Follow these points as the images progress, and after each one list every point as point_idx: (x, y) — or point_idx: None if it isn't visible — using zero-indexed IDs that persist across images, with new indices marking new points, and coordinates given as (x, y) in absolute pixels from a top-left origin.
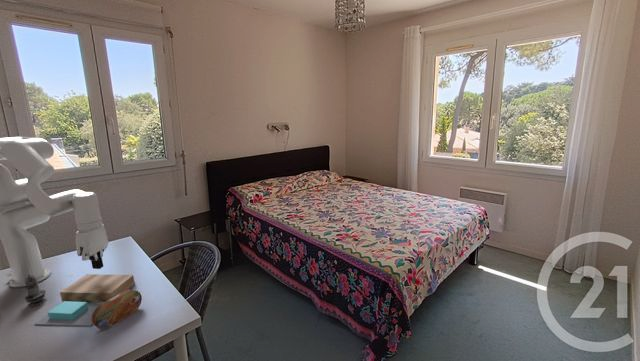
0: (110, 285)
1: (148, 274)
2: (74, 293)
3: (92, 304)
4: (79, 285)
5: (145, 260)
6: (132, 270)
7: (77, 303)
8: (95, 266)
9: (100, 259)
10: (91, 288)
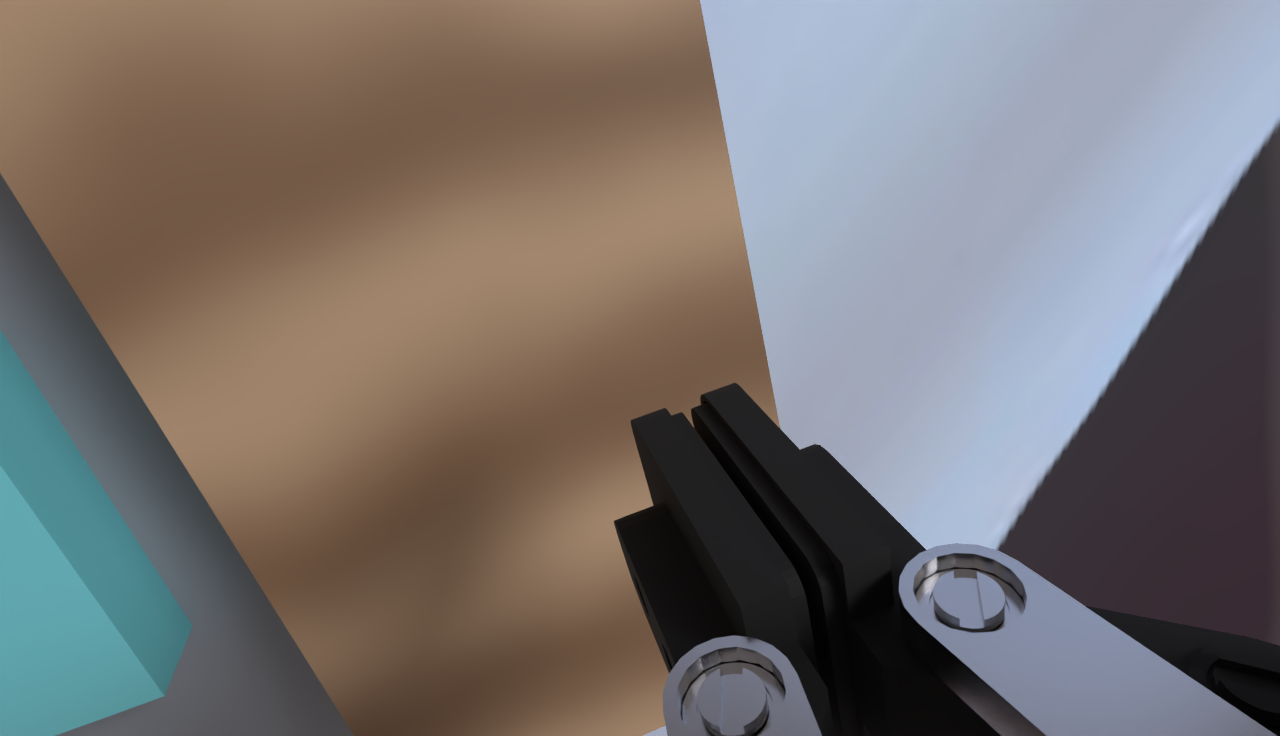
0: (540, 667)
1: (938, 528)
2: (126, 356)
3: (263, 593)
4: (316, 182)
5: (1228, 180)
6: (1002, 257)
7: (56, 618)
8: (642, 600)
9: (842, 733)
10: (363, 511)
